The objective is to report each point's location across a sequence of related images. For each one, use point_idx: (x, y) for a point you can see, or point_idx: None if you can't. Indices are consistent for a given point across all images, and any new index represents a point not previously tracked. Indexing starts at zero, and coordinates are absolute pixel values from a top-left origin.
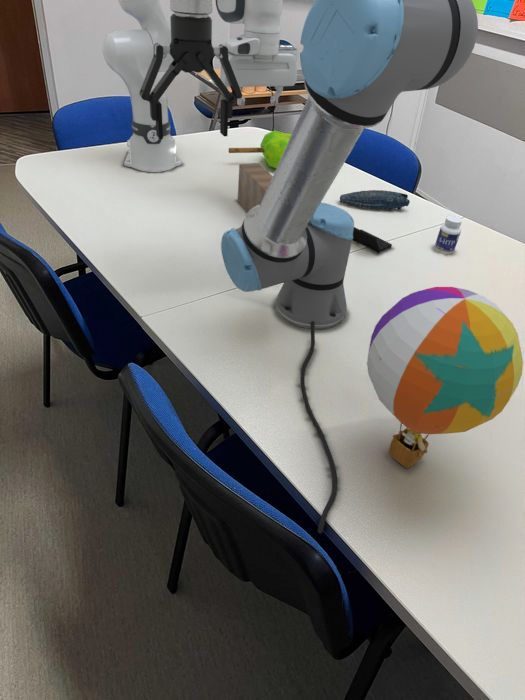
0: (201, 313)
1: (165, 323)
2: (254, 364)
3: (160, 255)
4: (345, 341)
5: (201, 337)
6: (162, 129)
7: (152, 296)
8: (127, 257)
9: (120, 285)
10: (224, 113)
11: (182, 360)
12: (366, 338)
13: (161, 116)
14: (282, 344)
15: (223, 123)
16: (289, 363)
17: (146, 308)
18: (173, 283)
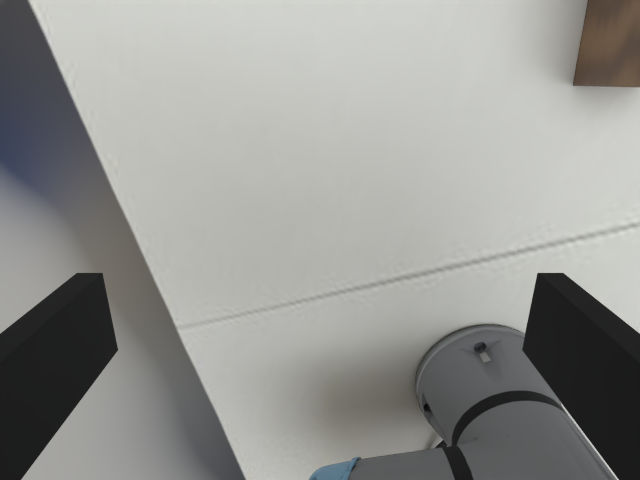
0: (283, 343)
1: (214, 354)
2: (325, 464)
3: (244, 101)
4: None
5: (266, 398)
6: (87, 390)
7: (201, 272)
8: (158, 91)
9: (138, 218)
10: (615, 471)
11: (226, 435)
12: None
13: (27, 463)
14: (384, 439)
15: (568, 385)
16: None
17: (186, 306)
18: (252, 236)
